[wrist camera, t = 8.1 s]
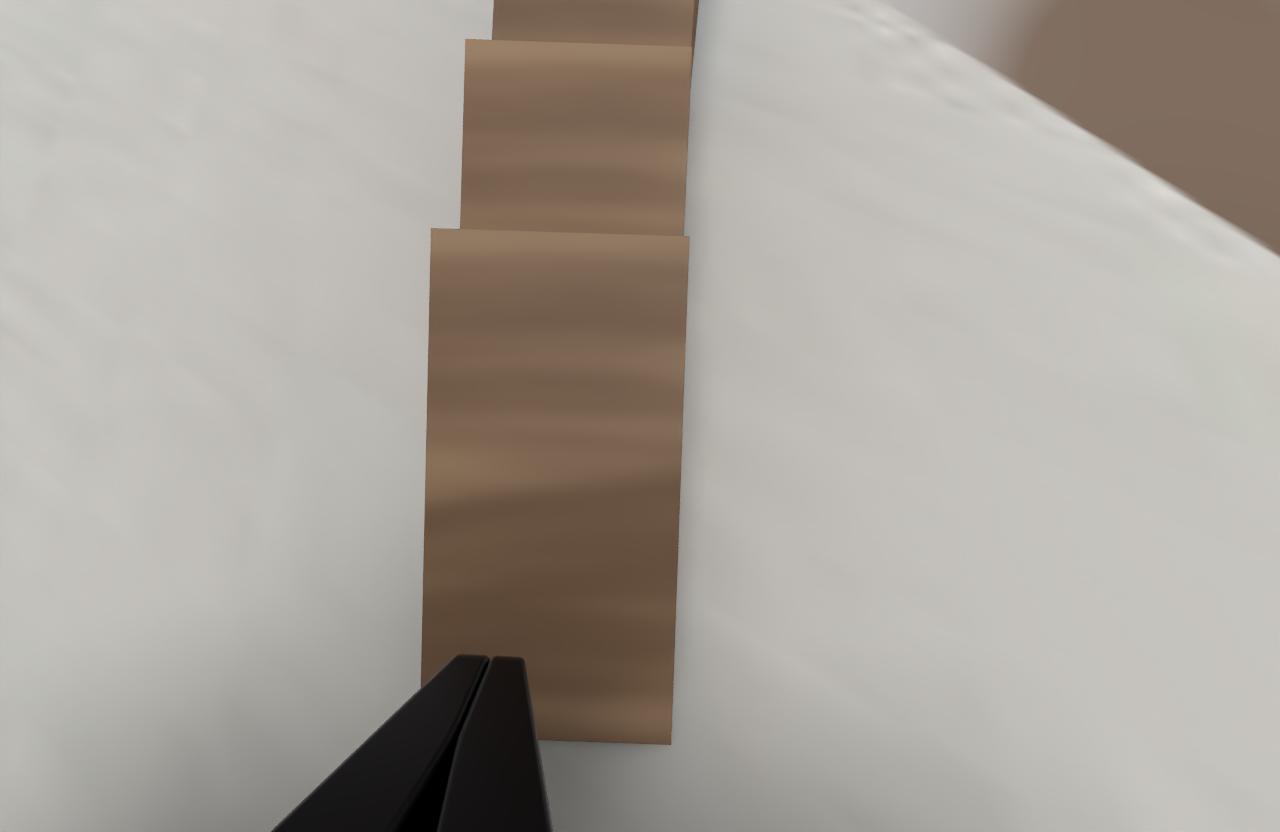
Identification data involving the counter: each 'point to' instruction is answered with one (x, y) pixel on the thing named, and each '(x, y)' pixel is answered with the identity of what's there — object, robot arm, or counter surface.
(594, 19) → the domino
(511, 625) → the domino
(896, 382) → the counter surface
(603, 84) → the domino
